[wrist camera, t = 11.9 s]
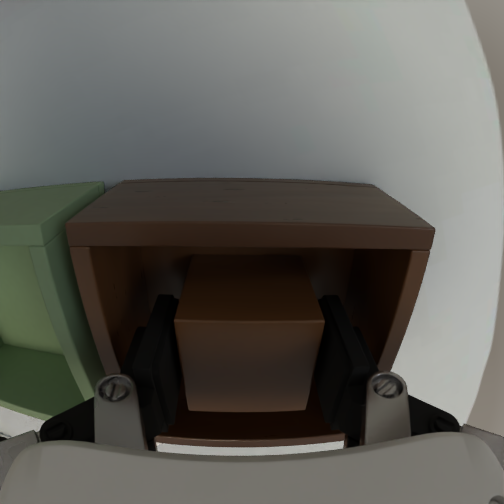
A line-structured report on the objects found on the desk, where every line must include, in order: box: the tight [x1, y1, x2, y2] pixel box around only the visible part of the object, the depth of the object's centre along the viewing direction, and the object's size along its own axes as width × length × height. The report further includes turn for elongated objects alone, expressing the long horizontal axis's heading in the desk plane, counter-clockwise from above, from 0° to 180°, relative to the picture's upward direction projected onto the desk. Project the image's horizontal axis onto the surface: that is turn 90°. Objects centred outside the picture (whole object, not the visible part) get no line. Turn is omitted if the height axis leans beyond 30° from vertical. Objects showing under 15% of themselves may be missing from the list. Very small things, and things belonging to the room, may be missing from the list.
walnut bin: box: [65, 178, 435, 447], centre depth 12 cm, size 10×10×5 cm
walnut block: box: [174, 254, 325, 412], centre depth 12 cm, size 4×4×4 cm
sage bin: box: [0, 182, 106, 421], centre depth 12 cm, size 10×10×5 cm
